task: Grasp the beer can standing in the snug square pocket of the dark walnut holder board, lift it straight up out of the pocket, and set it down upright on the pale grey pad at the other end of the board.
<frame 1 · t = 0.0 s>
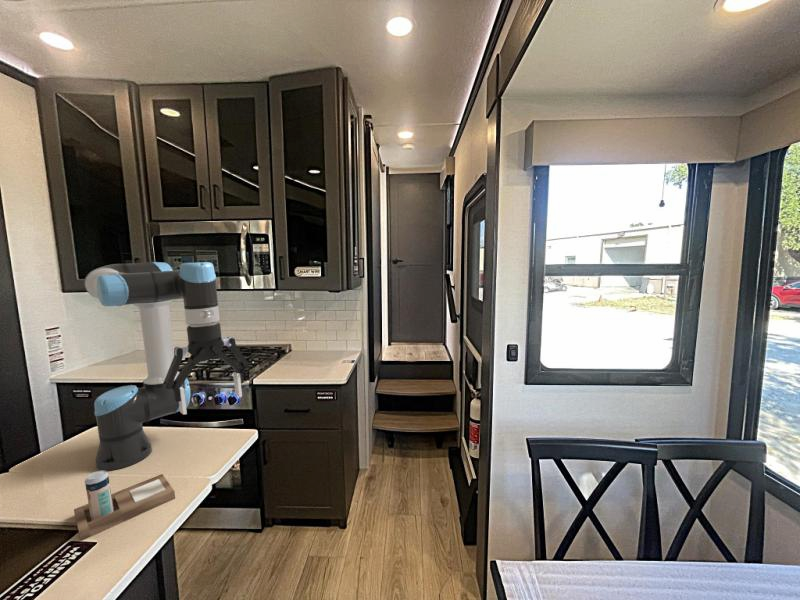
hand: (212, 403, 96), 28 cm above the kitchen island, fingers open, 13 cm apart
pocket board: (126, 507, 99), on the kitchen island
beer can: (103, 518, 95), resting in pocket board
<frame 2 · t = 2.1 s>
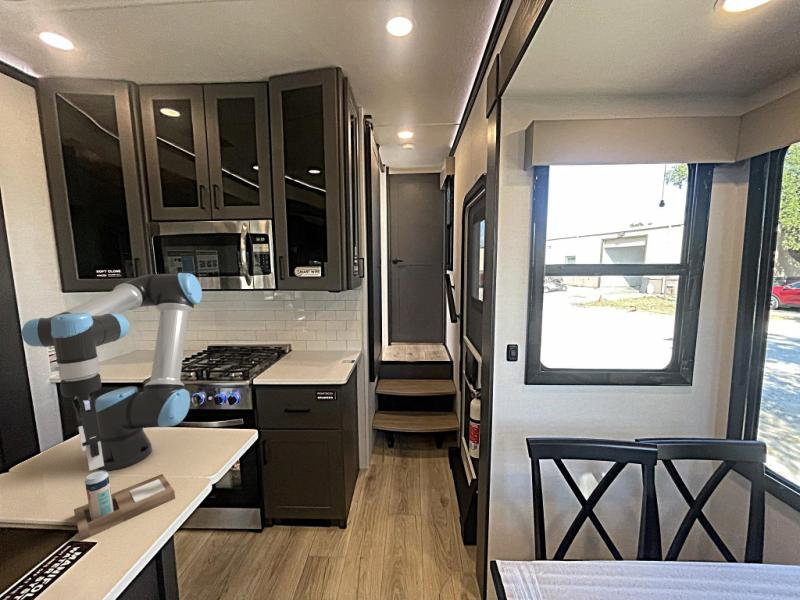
hand: (92, 457, 93), 17 cm above the kitchen island, fingers open, 13 cm apart
nothing on the kitchen island moved.
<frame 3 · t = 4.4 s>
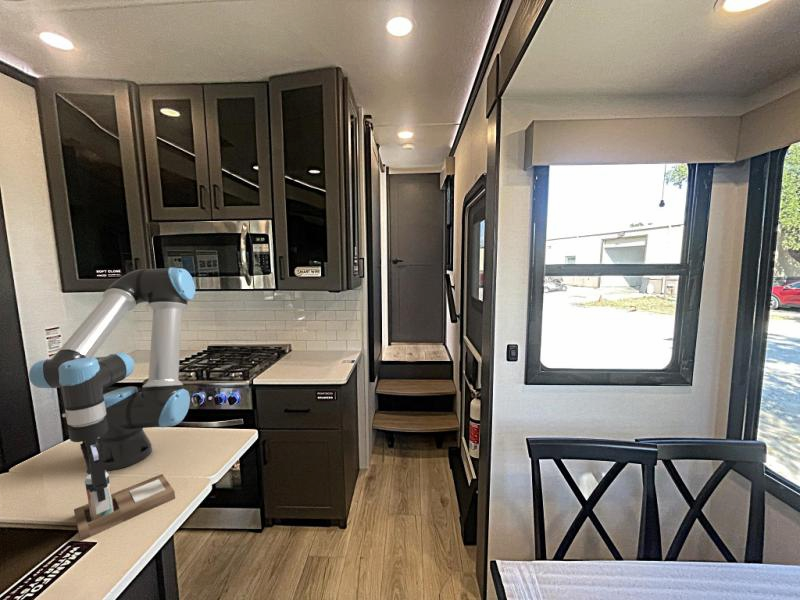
hand: (101, 505, 95), 3 cm above the kitchen island, fingers closed on beer can, 5 cm apart
beer can: (103, 518, 95), resting in pocket board, touching gripper
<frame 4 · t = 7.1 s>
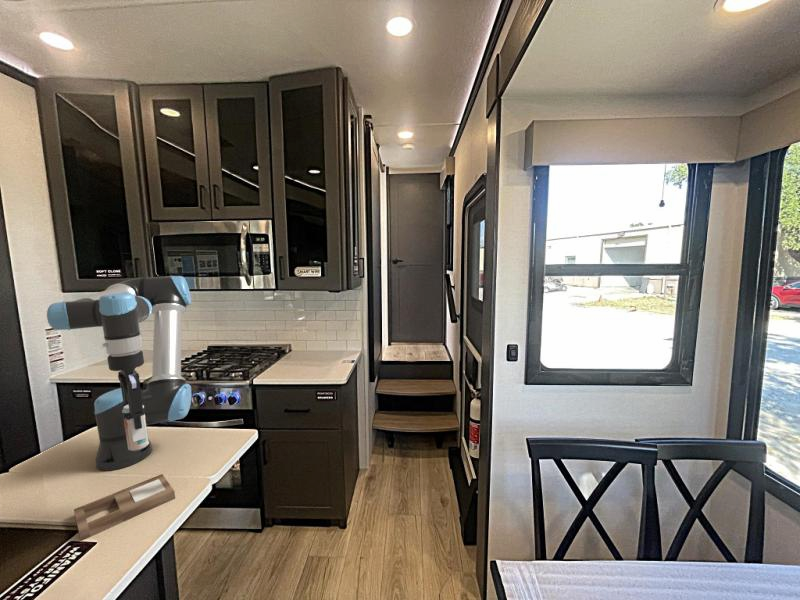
hand: (137, 435, 100), 19 cm above the kitchen island, fingers closed on beer can, 5 cm apart
beer can: (138, 448, 100), point 15 cm above the kitchen island, touching gripper
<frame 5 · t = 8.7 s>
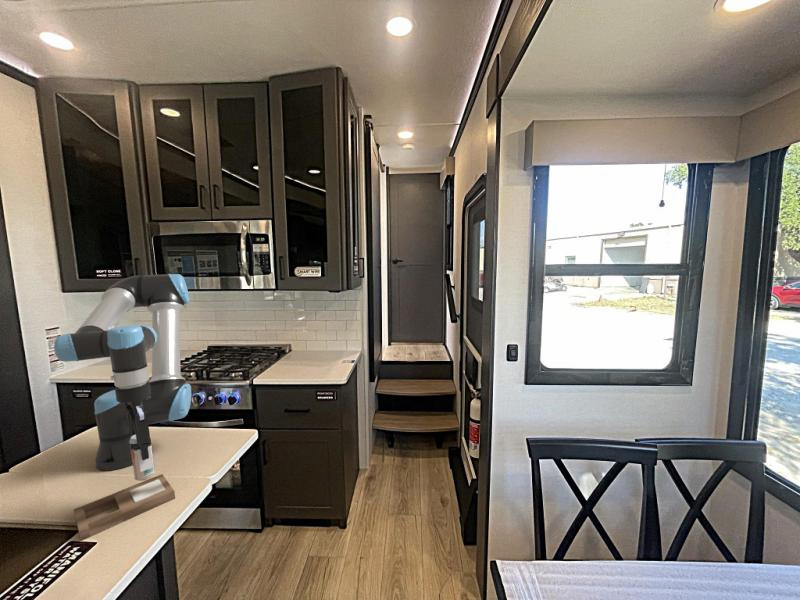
hand: (143, 465, 101), 10 cm above the kitchen island, fingers closed on beer can, 5 cm apart
beer can: (145, 477, 101), point 6 cm above the kitchen island, touching gripper
when the fingers open (7 cm above the kitchen island, at t = 9.9 s): beer can drops 1 cm, resting on pocket board.
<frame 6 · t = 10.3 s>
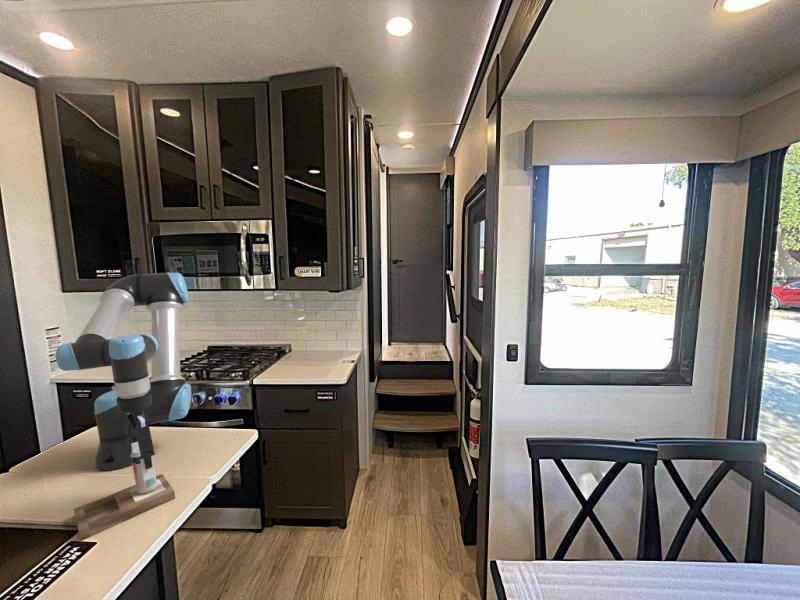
hand: (144, 470, 101), 8 cm above the kitchen island, fingers open, 10 cm apart
beer can: (147, 490, 102), point 2 cm above the kitchen island, touching pocket board
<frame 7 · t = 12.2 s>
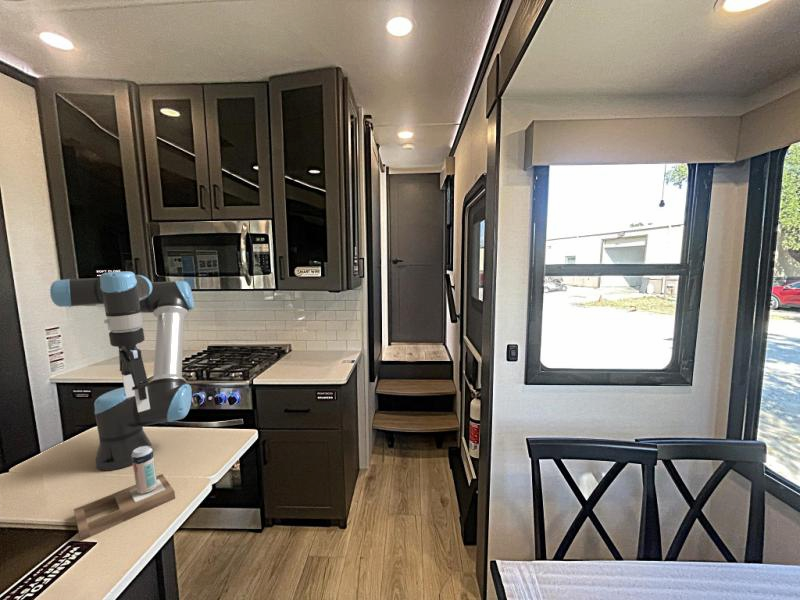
hand: (137, 403, 103), 26 cm above the kitchen island, fingers open, 13 cm apart
nothing on the kitchen island moved.
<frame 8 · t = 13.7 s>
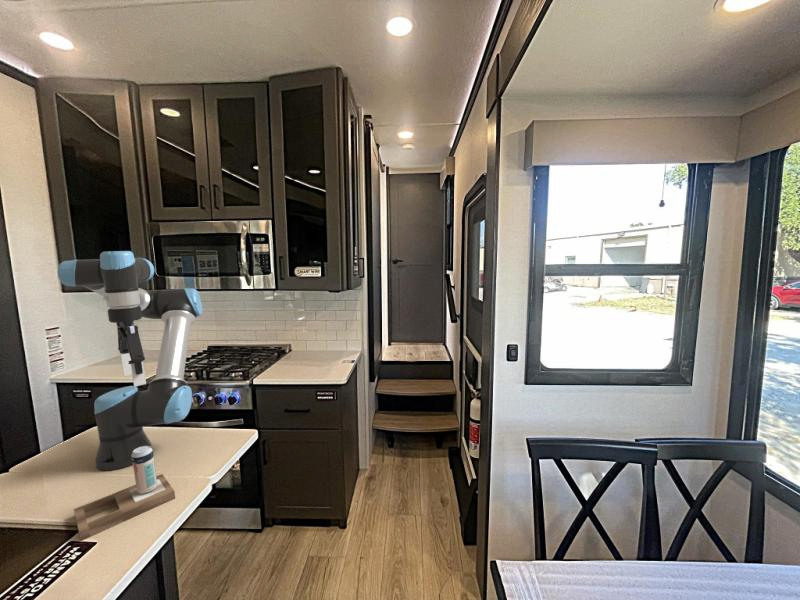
hand: (134, 379, 106), 32 cm above the kitchen island, fingers open, 13 cm apart
nothing on the kitchen island moved.
at the end: beer can inside the target area (0.2 cm from its centre), point 2.2 cm above the kitchen island; beer can tilted 0°; the gripper is holding nothing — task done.
